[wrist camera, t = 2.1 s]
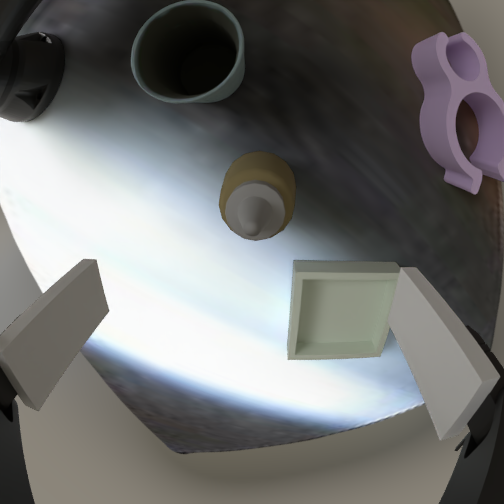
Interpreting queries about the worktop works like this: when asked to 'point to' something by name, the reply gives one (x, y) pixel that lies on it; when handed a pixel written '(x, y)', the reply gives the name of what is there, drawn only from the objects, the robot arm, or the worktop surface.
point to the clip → (446, 105)
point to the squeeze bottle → (258, 195)
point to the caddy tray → (340, 308)
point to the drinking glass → (189, 53)
